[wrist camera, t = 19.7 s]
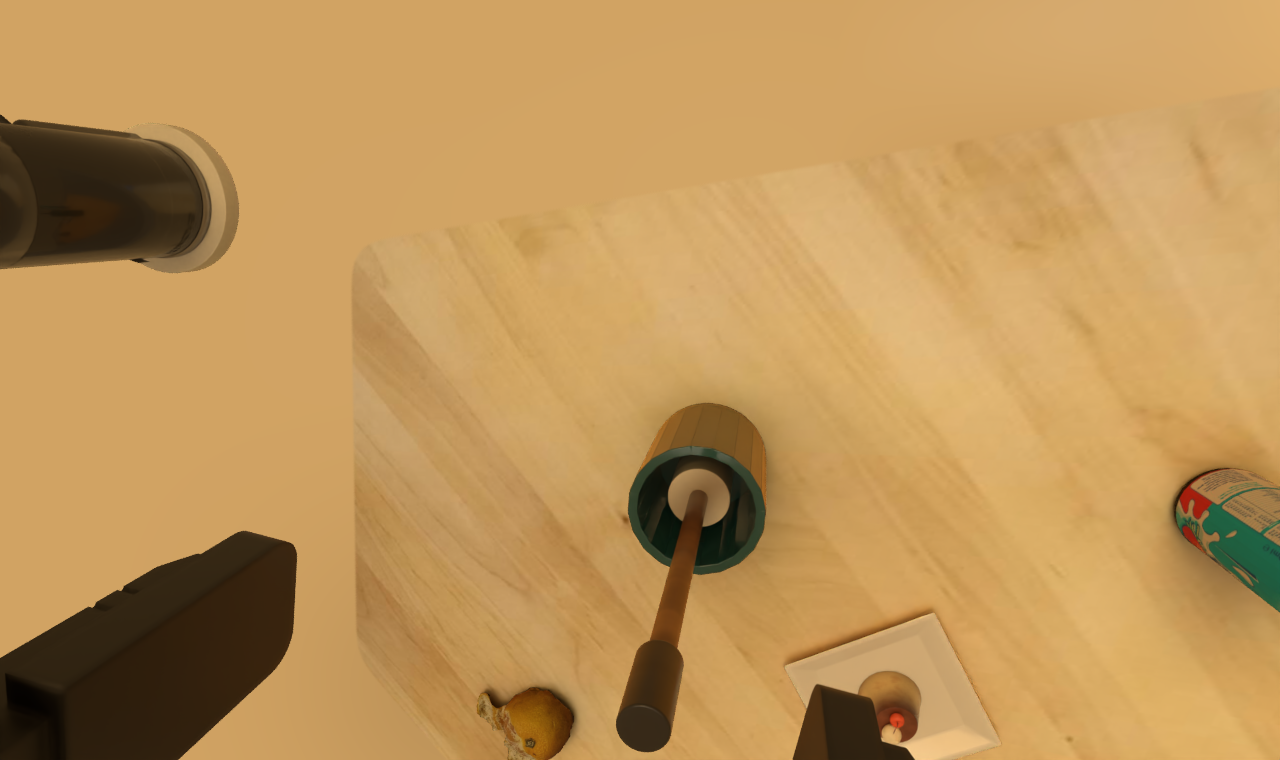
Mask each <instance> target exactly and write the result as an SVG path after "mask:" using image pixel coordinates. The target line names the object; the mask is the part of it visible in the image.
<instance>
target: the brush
mask: <svg viewBox="0 0 1280 760" xmlns="http://www.w3.org/2000/svg"><path fill="white" fill-rule="evenodd" d="M733 474H734V470H733V469H732V468H731V467H730V466H729V465H727V464H725V463H722V462H720V461H718V460H716V459H713V458H711V457H704V456H696V455H688V456H682V457H680V459H679V462H678V464H677V467H676V470H675V473H674V476H673V478H672V481H671V484H670V487H669V490H668V502H669V505H670V508H671V510H672V511H673V513H674V514H675V515H676V517H678V518H679V519H680V520H681V521H683V522H682V525H681V529H680V532H679V536H678V540H677V543H676V547H675V551H674V554H673V558H672V562H671V565H670V569H669V573H668V576H667V580H666V583H665V587H664V591H663V594H662V598H661V602H660V605H659V609H658V613H657V616H656V620H655V624H654V627H653V631H652V634H651V638H650V641H648V642H646V643H644V644H643V645H641V646H640V647H639V649H638V650H637V652H636V656H635V659H634V662H633V666H632V669H631V672H630V676H629V679H628V682H627V686H626V689H625V693H624V696H623V699H622V703H621V706H620V709H619V713H618V716H617V720H616V728H617V732H618V734H619V736H620V738H621V739H622V741H623V742H624V743H625V744H626V745H628V746H629V747H631V748H632V749H634V750H637V751H641V752H654V751H657V750H659V749H661V748H662V747H664V746H665V745H666V744H667V742H668V741H669V739H670V736H671V732H672V726H673V721H674V715H675V710H676V705H677V699H678V694H679V688H680V683H681V678H682V672H683V666H684V662H683V658H682V655H681V653H680V652H679V650H678V649H677V647H678V642H679V637H680V632H681V628H682V623H683V618H684V613H685V608H686V603H687V599H688V594H689V589H690V584H691V579H692V574H693V570H694V565H695V560H696V555H697V550H698V545H699V541H700V536H701V531H702V527H705V526H709V525H712V524H715V523H716V522H718V521H719V520H721V519H722V518H723V517H724V515H725V514H726V512H727V510H728V508H729V504H730V497H731V489H732V482H733Z"/></svg>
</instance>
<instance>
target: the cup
mask: <svg viewBox="0 0 1280 760" xmlns="http://www.w3.org/2000/svg"><path fill="white" fill-rule="evenodd" d="M688 455H696V456H704V457H711V458H713V459H716V460H718V461H720V462H722V463H725V464H727V465H729V466H730V467H731V468H732V469H733V470H734V474H733V482H732V489H731V497H730V504H729V508H728V510H727V512H726V514H725V515H724V517H723V518H722V519H721V520H719V521H718V522H716V523H715V524H712V525H709V526H705V527H702V531H701V536H700V541H699V545H698V550H697V555H696V560H695V565H694V570H693V574H698V575H703V574H710V573H717V572H722V571H724V570H726V569H728V568H730V567H733V566H735V565H737V564H739V563H741V562H742V561H743V560H744V559H745V558H746V557H747V556H748V555H749V554H750V553H751V552H752V551H753V550H754V548H755V547H756V545H757V543H758V541H759V539H760V537H761V535H762V533H763V530H764V524H765V516H766V455H765V448H764V444H763V441H762V439H761V436H760V434H759V432H758V431H757V429H756V428H755V426H754V425H753V424H752V423H751V422H750V421H749V420H748V419H747V418H746V417H745V416H743V415H742V414H741V413H739V412H737V411H736V410H734V409H732V408H729V407H727V406H723V405H719V404H713V403H703V404H695V405H691V406H688V407H686V408H683V409H681V410H679V411H677V412H676V413H675V414H673V415H672V416H671V417H670V418H669V419H668V420H666V422H665V423H664V424H663V425H662V427H661V428H660V430H659V431H658V433H657V435H656V437H655V439H654V441H653V443H652V445H651V447H650V449H649V451H648V453H647V455H646V457H645V459H644V461H643V463H642V465H641V467H640V469H639V471H638V473H637V475H636V478H635V480H634V482H633V485H632V487H631V489H630V493H629V503H628V515H629V518H630V522H631V526H632V530H633V532H634V534H635V535H636V537H637V539H638V540H639V542H640V543H641V545H642V546H643V548H645V550H646V551H647V552H648V553H649V554H651V555H652V556H653V557H654V558H655V559H656V560H657V561H659V562H660V563H662V564H664V565H666V566H668V567H670V565H671V562H672V558H673V554H674V551H675V547H676V543H677V540H678V536H679V532H680V529H681V525H682V522H683V521H681V520H680V519H679V518H678V517H676V515H675V514H674V513H673V511H672V510H671V508H670V505H669V502H668V490H669V487H670V484H671V481H672V478H673V476H674V473H675V470H676V467H677V464H678V462H679V459H680V457H682V456H688Z"/></svg>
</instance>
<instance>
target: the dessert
mask: <svg viewBox="0 0 1280 760" xmlns="http://www.w3.org/2000/svg"><path fill="white" fill-rule="evenodd" d="M784 668H785V670H786V672H787V674H788V676H789V678H790V679H791V681H792V683H793V685H794V687H795V688H796V690H797V692H798V694H799V696H800V698H801V699H802V701H803V703H804V705H805V707H806V708H807V707H808V704H809V700H810V697H811V694H812V691H813V689H814V687H815V685H816V684H820V685H824V686H828V687H831V688H835V689H839V690H843V691H847V692H850V693H854V694H858V695H862V696H865V697H869V698H871V699H872V701H873V704H874V708H875V712H876V717H877V722H878V726H879V731H880V735H881V740H882V741H883V742H886V743H890V744H894V745H897V746H901V747H905V748H907V749H908V750H909V752H910V753H911V755H912V756H913V758H914V759H915V760H955V759H958V758H961V757H965V756H968V755H971V754H975V753H978V752H981V751H985V750H988V749H991V748H995V747H998V746H1001V742H1000V740H999V738H998V736H997V734H996V732H995V730H994V728H993V726H992V724H991V722H990V720H989V718H988V716H987V714H986V712H985V710H984V708H983V706H982V705H981V703H980V701H979V699H978V697H977V695H976V693H975V691H974V689H973V687H972V685H971V683H970V681H969V679H968V677H967V675H966V673H965V671H964V669H963V667H962V665H961V664H960V662H959V660H958V658H957V656H956V654H955V652H954V650H953V648H952V646H951V644H950V642H949V640H948V638H947V636H946V634H945V632H944V630H943V628H942V626H941V624H940V622H939V621H938V619H937V617H936V615H935V614H934V613H931V614H928V615H925V616H922V617H919V618H917V619H914V620H911V621H908V622H906V623H903V624H900V625H897V626H894V627H892V628H889V629H886V630H883V631H880V632H878V633H875V634H872V635H869V636H866V637H864V638H861V639H858V640H855V641H853V642H850V643H847V644H844V645H841V646H839V647H836V648H833V649H830V650H827V651H825V652H822V653H819V654H816V655H813V656H811V657H808V658H805V659H802V660H800V661H797V662H794V663H791V664H788V665H786V666H784Z"/></svg>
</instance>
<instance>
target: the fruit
mask: <svg viewBox="0 0 1280 760" xmlns="http://www.w3.org/2000/svg"><path fill="white" fill-rule="evenodd" d="M489 696H490V695H489V694H487V693H482V694H480V696H479V699H478V704H477V714H479V715H480V717H482V718H484V719H486V720H487V722H488V723H490V724H491V725H492V730H493V731H495V730H496V731H497V730H504V732H505V735H506V736H505V741H504V743H505V746H506V747H507V748H508V753H509V755H508V760H548V759H551V758H552V757H553V756H555V755H556V754H557V753H559V752H560V751H561V749H562V748H563V746H564V745H565V743H566V742H567V740H568V738H569V737H570V730H571V728H572V724H573V722H574V716H573V715H572V713H571V712H570V710H569V709H568V708H566V707H565V706H564V705H563V704H561V703H560V701H559V700H558V699H556V698H555V697H554V696H553V694H551V692H550V691H549V690H548V691H547V690H545V691H541V690H539V689H538V688H529V690H527V691H526V692H523V693H521V694H519V695H515V696H514V697H513V698H512V699H511V701H510V702H509V703H508V705H504V706H502V707H500V708H495V707H494V706H492V704H491V703H490V698H489Z"/></svg>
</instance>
